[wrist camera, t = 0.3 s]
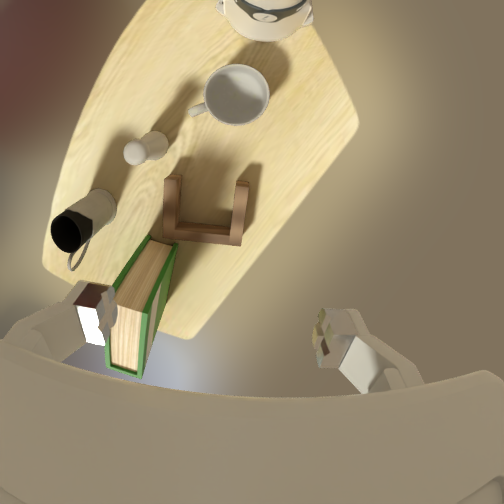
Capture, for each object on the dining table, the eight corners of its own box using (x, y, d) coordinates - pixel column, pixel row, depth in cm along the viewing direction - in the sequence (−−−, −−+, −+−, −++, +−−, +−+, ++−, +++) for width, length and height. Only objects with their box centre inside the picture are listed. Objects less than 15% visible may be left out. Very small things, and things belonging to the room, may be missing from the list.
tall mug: (119, 193, 54) (86, 218, 40) (111, 250, 60) (83, 285, 46) (86, 184, 52) (48, 206, 39) (81, 240, 58) (49, 271, 45)
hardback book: (147, 234, 58) (103, 299, 37) (178, 243, 60) (147, 314, 38) (138, 296, 66) (106, 367, 45) (165, 304, 67) (141, 379, 46)
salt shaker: (166, 125, 48) (143, 129, 37) (175, 152, 51) (156, 162, 39) (140, 137, 49) (112, 144, 37) (149, 162, 51) (124, 176, 40)
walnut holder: (170, 174, 53) (164, 179, 49) (248, 182, 54) (249, 187, 50) (168, 229, 58) (162, 237, 54) (241, 237, 59) (240, 246, 55)
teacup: (261, 67, 44) (264, 59, 36) (270, 120, 49) (274, 120, 41) (188, 81, 44) (178, 75, 37) (198, 133, 49) (190, 135, 42)
